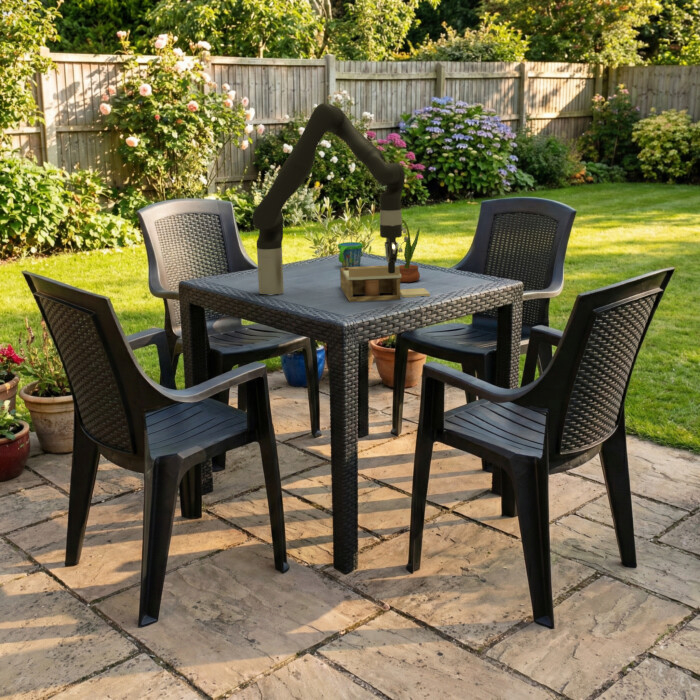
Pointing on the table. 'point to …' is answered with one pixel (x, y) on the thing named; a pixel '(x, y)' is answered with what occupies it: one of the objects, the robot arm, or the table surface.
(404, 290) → the stone tile
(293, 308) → the table surface
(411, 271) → the potted flower
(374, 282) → the clay pot
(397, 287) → the open wooden frame
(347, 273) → the lid
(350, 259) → the snack cup
